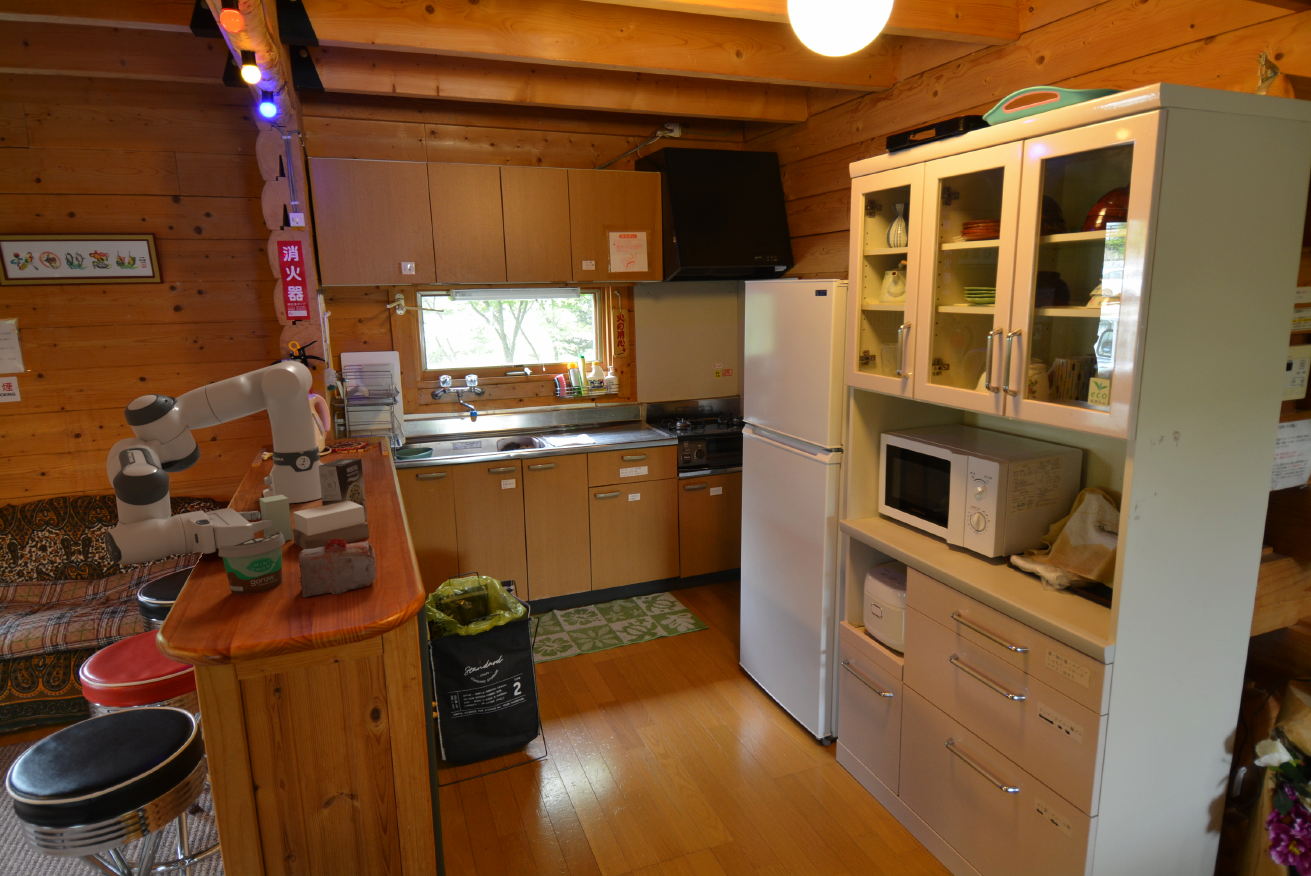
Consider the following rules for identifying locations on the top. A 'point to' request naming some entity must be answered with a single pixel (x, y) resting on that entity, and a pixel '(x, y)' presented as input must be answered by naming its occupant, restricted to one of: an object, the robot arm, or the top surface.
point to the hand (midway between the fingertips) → (265, 518)
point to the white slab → (329, 517)
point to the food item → (336, 567)
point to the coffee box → (342, 482)
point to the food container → (254, 564)
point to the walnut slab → (331, 536)
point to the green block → (277, 515)
